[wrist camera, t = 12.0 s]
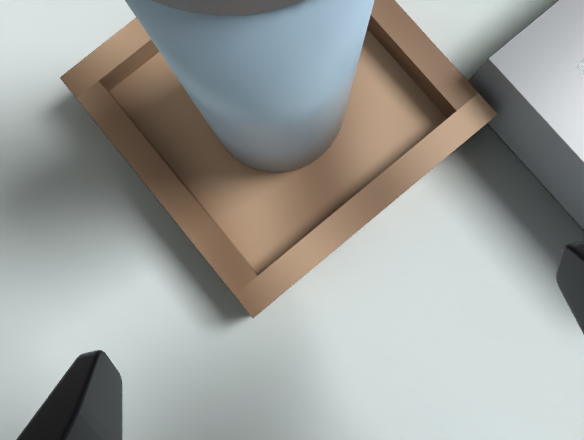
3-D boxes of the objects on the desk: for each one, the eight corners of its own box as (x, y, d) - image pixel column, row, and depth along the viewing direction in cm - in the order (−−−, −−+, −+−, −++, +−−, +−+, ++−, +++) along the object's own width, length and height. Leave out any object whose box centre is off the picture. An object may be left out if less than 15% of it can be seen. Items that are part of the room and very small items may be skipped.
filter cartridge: (308, 198, 18) (320, 35, 5) (183, 138, 18) (-90, -155, 5) (370, 75, 18) (519, -355, 6) (246, 18, 18) (125, -509, 6)
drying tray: (257, 312, 18) (252, 318, 16) (82, 95, 19) (59, 77, 17) (478, 129, 18) (497, 114, 17) (296, -74, 19) (296, -109, 18)
